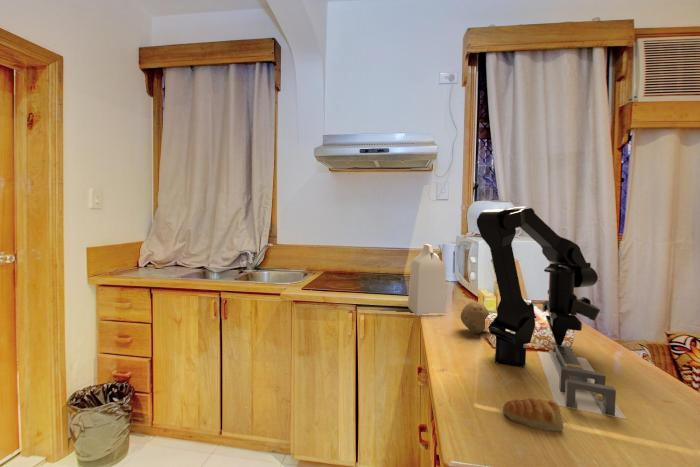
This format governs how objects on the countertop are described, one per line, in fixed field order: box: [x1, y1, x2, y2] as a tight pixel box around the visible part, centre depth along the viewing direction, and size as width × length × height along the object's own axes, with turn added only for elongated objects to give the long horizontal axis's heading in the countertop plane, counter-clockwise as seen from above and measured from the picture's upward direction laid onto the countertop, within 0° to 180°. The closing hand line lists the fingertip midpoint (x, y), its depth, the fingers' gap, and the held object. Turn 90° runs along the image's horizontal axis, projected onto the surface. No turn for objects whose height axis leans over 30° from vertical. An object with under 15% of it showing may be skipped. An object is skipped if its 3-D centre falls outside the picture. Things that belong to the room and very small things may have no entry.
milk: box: [407, 243, 448, 317], centre depth 131 cm, size 12×12×26 cm
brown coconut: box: [460, 301, 491, 334], centre depth 107 cm, size 9×9×10 cm
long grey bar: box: [555, 345, 587, 382], centre depth 80 cm, size 3×17×3 cm, turn 157°
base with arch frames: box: [536, 349, 627, 420], centre depth 76 cm, size 11×28×5 cm, turn 157°
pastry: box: [502, 396, 564, 432], centre depth 62 cm, size 9×7×4 cm
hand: (558, 345), depth 92 cm, fingers closed
